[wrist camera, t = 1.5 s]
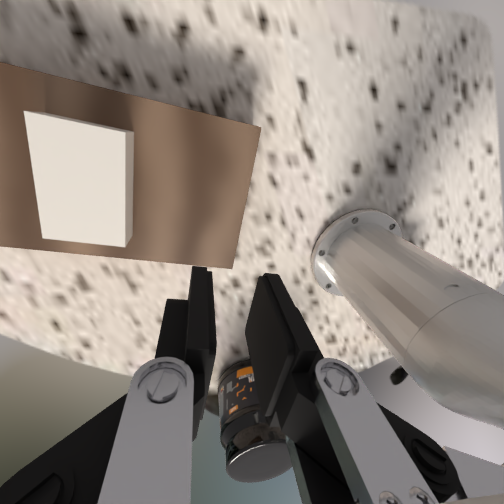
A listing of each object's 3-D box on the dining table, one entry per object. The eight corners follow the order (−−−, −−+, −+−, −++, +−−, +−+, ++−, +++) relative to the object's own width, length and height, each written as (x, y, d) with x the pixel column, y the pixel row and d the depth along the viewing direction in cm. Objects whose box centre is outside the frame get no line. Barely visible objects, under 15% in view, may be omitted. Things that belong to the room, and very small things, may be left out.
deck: (253, 127, 25) (261, 127, 21) (228, 252, 30) (232, 268, 27) (-22, 59, 19) (-72, 44, 16) (12, 227, 25) (-19, 244, 21)
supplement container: (288, 359, 41) (318, 439, 31) (265, 400, 45) (285, 483, 35) (227, 352, 38) (237, 439, 28) (209, 396, 42) (211, 487, 31)
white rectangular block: (134, 131, 20) (125, 132, 17) (132, 235, 23) (125, 247, 21) (45, 112, 18) (23, 110, 16) (58, 227, 22) (42, 238, 20)
